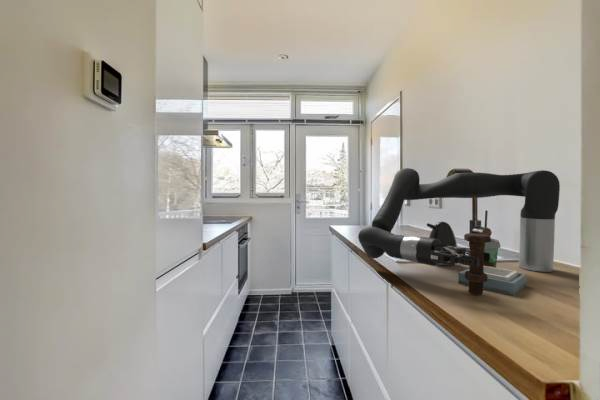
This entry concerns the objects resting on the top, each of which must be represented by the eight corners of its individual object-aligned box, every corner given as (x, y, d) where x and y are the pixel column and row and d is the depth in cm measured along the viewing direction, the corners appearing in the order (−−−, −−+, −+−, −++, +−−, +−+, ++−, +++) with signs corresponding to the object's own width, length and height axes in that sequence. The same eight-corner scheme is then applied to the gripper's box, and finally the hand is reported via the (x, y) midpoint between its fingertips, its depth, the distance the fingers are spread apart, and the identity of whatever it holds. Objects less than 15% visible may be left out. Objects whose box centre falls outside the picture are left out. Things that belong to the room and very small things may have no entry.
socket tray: (474, 275, 94) (475, 263, 94) (526, 285, 84) (526, 271, 84) (458, 283, 85) (458, 269, 85) (513, 295, 75) (513, 280, 75)
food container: (502, 275, 94) (503, 243, 94) (480, 272, 97) (480, 241, 96) (496, 266, 105) (497, 238, 105) (476, 264, 108) (477, 236, 108)
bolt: (491, 299, 72) (493, 236, 72) (468, 297, 73) (470, 235, 73) (482, 291, 78) (483, 233, 78) (460, 289, 79) (462, 232, 79)
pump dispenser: (422, 259, 115) (423, 219, 114) (451, 261, 113) (453, 220, 112) (429, 266, 105) (430, 222, 104) (461, 267, 103) (462, 223, 102)
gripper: (431, 259, 91) (493, 270, 79) (407, 266, 82) (473, 280, 70) (432, 234, 91) (494, 241, 79) (408, 239, 81) (474, 247, 69)
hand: (484, 259), depth 74 cm, fingers open, 8 cm apart
